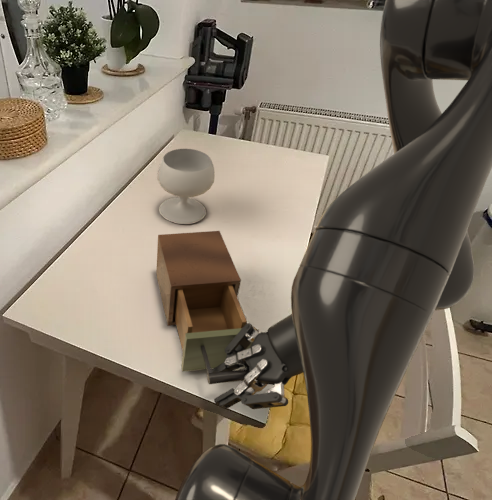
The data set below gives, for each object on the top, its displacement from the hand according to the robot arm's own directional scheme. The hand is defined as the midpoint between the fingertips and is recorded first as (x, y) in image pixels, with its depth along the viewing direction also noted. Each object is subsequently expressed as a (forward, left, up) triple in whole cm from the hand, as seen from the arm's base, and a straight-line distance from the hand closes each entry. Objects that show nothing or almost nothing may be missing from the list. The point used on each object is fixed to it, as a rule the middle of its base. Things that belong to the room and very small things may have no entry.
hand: (214, 391), depth 67 cm
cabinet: (+25, -2, -5) cm, 26 cm away
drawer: (+10, -2, -4) cm, 11 cm away
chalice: (+55, -6, -5) cm, 56 cm away
